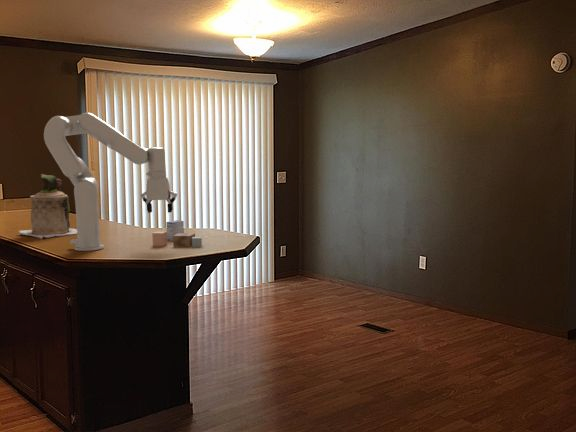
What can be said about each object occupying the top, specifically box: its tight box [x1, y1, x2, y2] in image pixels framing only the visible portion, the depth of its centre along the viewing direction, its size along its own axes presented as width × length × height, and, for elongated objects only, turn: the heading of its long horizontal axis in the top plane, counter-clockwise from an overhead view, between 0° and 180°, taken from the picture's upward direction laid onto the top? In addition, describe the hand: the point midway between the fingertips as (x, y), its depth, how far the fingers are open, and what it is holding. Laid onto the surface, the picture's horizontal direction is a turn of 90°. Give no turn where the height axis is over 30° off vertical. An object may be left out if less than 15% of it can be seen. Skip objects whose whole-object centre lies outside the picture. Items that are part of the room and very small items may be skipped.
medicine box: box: [165, 219, 185, 241], centre depth 282 cm, size 8×4×9 cm, turn 149°
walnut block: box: [172, 232, 196, 247], centre depth 264 cm, size 8×8×5 cm
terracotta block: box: [152, 231, 168, 247], centre depth 264 cm, size 5×5×6 cm
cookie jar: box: [18, 173, 77, 239], centre depth 302 cm, size 25×25×32 cm
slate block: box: [191, 236, 203, 248], centre depth 260 cm, size 4×4×4 cm
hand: (159, 212), depth 263 cm, fingers open, 9 cm apart
